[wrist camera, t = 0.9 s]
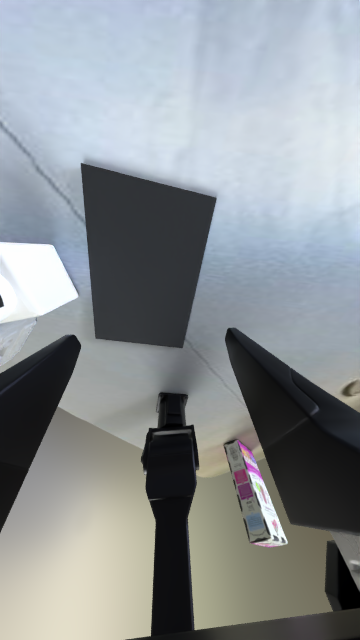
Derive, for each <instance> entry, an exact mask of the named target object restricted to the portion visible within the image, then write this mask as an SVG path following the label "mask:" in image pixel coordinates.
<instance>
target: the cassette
mask: <svg viewBox="0 0 360 640" xmlns="http://www.w3.org/2000/svg"><path fill="white" fill-rule="evenodd" d="M35 319H36V317H32V318H27V319H21V320H16V321H11V322H6V323H1V324H0V366H2V365H3V364H5V363H6V362H8V361H9V360H10V359H12V358H13V357H14V355H15V354H17V353H19V351H20V350H21V348H22V346H23V344H24V343H25V341H26V339H27V338H28V336H29V334H30V333H31V331H32V329H33V328H34V326H35V324H36V322H37V321H36V320H35Z"/></svg>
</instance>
